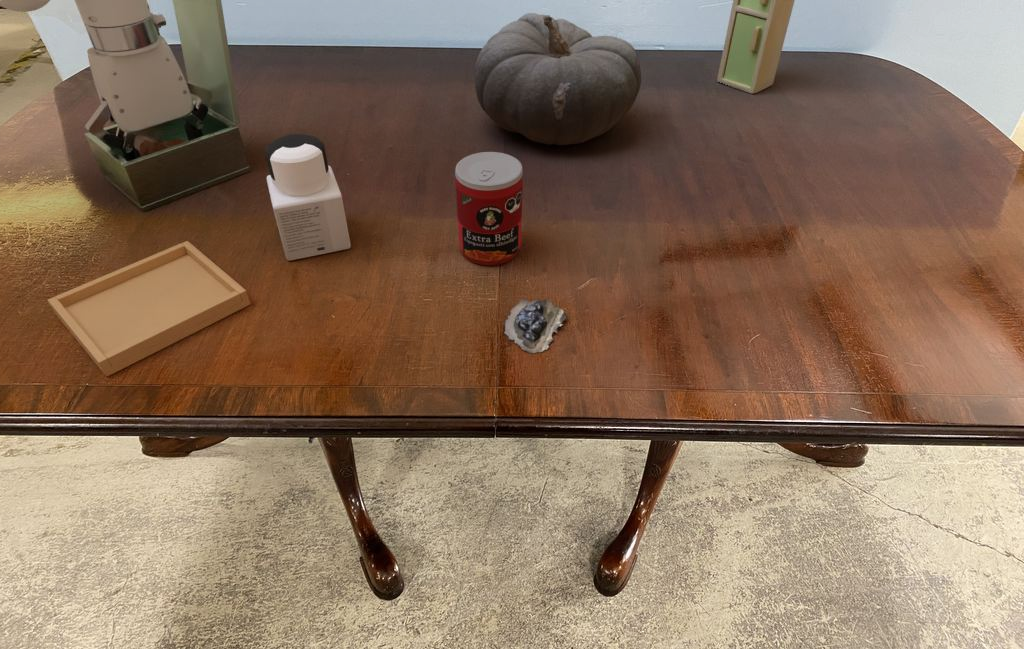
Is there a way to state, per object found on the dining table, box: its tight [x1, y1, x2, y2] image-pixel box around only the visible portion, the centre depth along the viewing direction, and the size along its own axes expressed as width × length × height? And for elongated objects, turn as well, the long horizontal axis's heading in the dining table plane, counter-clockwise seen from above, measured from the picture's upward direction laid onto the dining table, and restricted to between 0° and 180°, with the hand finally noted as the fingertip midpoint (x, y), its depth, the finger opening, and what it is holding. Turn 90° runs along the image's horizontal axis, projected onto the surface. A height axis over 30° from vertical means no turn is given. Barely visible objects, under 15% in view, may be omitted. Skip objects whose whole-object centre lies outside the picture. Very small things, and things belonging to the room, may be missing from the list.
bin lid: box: [172, 0, 241, 125], centre depth 90 cm, size 16×13×1 cm
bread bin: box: [84, 99, 251, 213], centre depth 93 cm, size 16×13×7 cm
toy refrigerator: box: [716, 0, 796, 95], centre depth 115 cm, size 8×7×21 cm
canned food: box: [454, 151, 524, 266], centre depth 79 cm, size 8×8×11 cm
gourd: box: [474, 12, 642, 146], centre depth 103 cm, size 25×25×17 cm
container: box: [264, 133, 352, 261], centre depth 79 cm, size 8×8×13 cm
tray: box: [47, 240, 251, 377], centre depth 72 cm, size 16×14×2 cm
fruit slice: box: [134, 136, 187, 157], centre depth 93 cm, size 8×7×5 cm
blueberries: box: [503, 298, 568, 354], centre depth 71 cm, size 7×8×2 cm
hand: (171, 163), depth 93 cm, fingers closed on fruit slice, 7 cm apart
